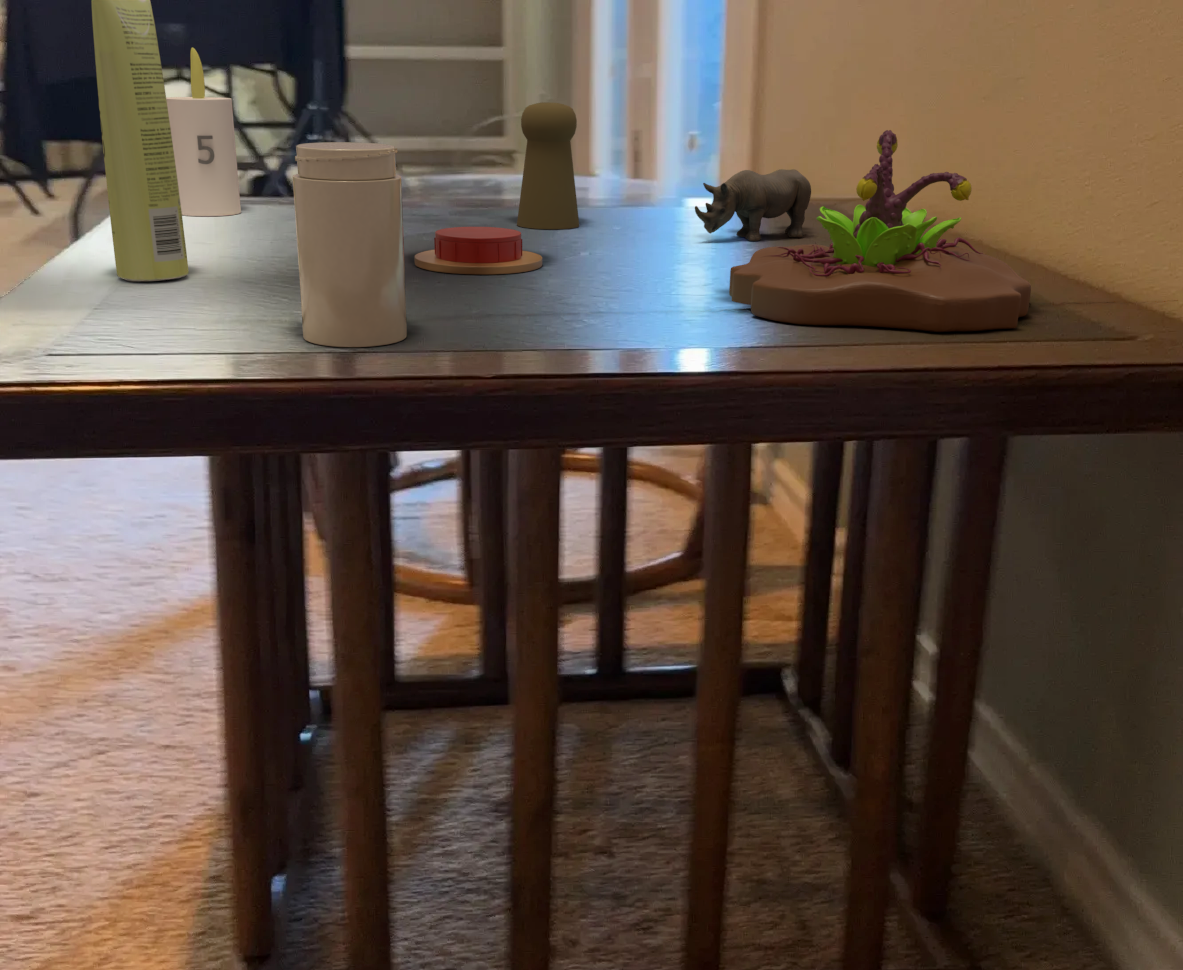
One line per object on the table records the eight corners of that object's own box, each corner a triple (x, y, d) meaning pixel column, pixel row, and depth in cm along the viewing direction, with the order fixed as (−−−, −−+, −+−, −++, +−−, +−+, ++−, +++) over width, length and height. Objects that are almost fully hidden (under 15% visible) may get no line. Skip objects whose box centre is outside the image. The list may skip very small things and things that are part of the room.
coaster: (421, 275, 96) (421, 267, 95) (408, 255, 105) (408, 247, 104) (553, 273, 98) (553, 265, 98) (530, 253, 107) (530, 246, 106)
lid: (509, 249, 105) (509, 225, 104) (530, 262, 99) (531, 237, 98) (428, 251, 103) (427, 227, 102) (445, 264, 97) (444, 239, 96)
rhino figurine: (677, 239, 116) (680, 170, 114) (790, 231, 124) (796, 165, 121) (705, 245, 113) (709, 174, 111) (820, 236, 121) (826, 169, 118)
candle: (177, 217, 123) (160, 46, 117) (172, 209, 129) (155, 46, 123) (245, 215, 125) (231, 48, 119) (237, 207, 131) (223, 47, 125)
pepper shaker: (559, 230, 120) (560, 104, 116) (504, 225, 123) (504, 102, 118) (590, 224, 125) (593, 103, 121) (537, 219, 128) (538, 100, 123)
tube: (106, 273, 93) (68, -25, 86) (176, 268, 96) (145, -22, 88) (127, 285, 89) (90, -28, 81) (200, 280, 92) (170, -24, 84)
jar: (304, 348, 72) (291, 149, 68) (302, 327, 78) (289, 141, 73) (411, 345, 74) (405, 150, 69) (402, 325, 79) (395, 142, 75)
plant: (1011, 287, 96) (1034, 128, 92) (1039, 340, 79) (1070, 146, 74) (744, 272, 100) (754, 119, 96) (714, 320, 82) (725, 134, 78)
